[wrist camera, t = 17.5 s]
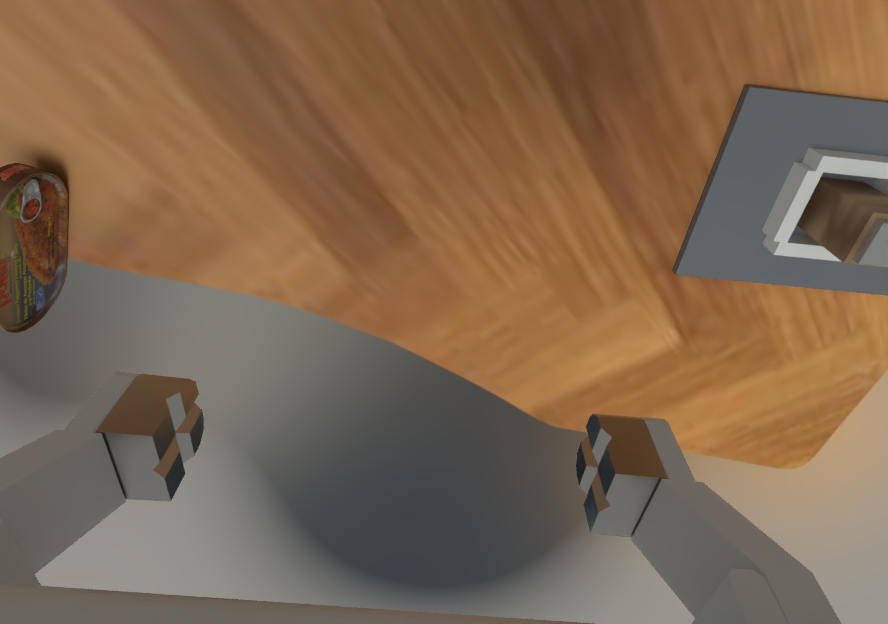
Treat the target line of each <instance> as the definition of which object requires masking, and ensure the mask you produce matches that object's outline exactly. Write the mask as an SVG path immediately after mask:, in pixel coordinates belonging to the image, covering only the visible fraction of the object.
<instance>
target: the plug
mask: <svg viewBox="0 0 888 624" xmlns="http://www.w3.org/2000/svg"><path fill="white" fill-rule="evenodd" d="M797 226H798V227H799V228H801V229H802V230H803V231H804V232H806V233H807V234H808V235H809V236H811V237H812V238H813V239H814V240H815V241H817V242H818V243H819V244H820V245H822V246H823V247H824V248H825V249H827V250H828V251H829V252H830V253H832V254H833V255H834V256H835V257H837V258H838V259H839V260H840V261H842V262H843V263H849V264H858V265H867V266H877V267H886V268H888V195H886V194H884V193H882V192H881V191H879V190H877V189H875V188H874V187H872V186H870V185H868V184H866V183H865V182H862V181H854V180H845V179H836V178H827V177H821V178H820V180H819V182H818V183H817V185H816V187H815V189H814V191H813V193H812V195H811V197H810V199H809V201H808V203H807V205H806V207H805V209H804V211H803V213H802V215H801V217H800V219H799V221H798V223H797Z"/></svg>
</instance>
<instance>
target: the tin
mask: <svg viewBox="0 0 888 624" xmlns="http://www.w3.org/2000/svg"><path fill="white" fill-rule="evenodd" d="M67 243H68V192H67V189H66V186H65V184H64V183H63V181H62V180H61V179H60V178H59V177H58V176H56V175H54V174H52V173H48V172H44V171H41V170H39V169H36V168H34V167H31V166H28V165H25V164H20V163H14V164H9V165H6V166H3V167H0V328H1V329H3V330H4V331H6V332H9V333H19V332H22V331H25V330H27V329H29V328H31V327H32V326H33V325H35V324H36V323H37V322H38V321H40V320H41V319H42V318H43V317H44V315H45V314H46V313H47V312H48V311H49V309H50V308H51V307H52V305H53V304H54V302H55V301H56V299H57V297H58V295H59V294H60V292H61V290H62V287H63V284H64V281H65V277H66V272H67V248H68V246H67V245H68V244H67Z"/></svg>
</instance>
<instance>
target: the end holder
mask: <svg viewBox="0 0 888 624" xmlns="http://www.w3.org/2000/svg"><path fill="white" fill-rule="evenodd" d="M821 177H827V178H836V179H845V180H854V181H862V182H865V183H866V184H868V185H870V186H872V187H874V188H875V189H877V190H879V191H881V192H882V193H884V194H886V195H888V101H881V100H872V99H863V98H854V97H846V96H837V95H828V94H820V93H811V92H802V91H793V90H785V89H776V88H767V87H758V86H750V85H745V86H744V88H743V91H742V94H741V96H740V99H739V101H738V104H737V106H736V109H735V111H734V114H733V117H732V119H731V122H730V124H729V127H728V129H727V132H726V135H725V137H724V140H723V142H722V145H721V147H720V150H719V153H718V155H717V158H716V160H715V163H714V165H713V168H712V170H711V173H710V176H709V178H708V181H707V183H706V186H705V188H704V191H703V194H702V196H701V199H700V201H699V204H698V206H697V209H696V211H695V214H694V217H693V219H692V222H691V224H690V227H689V229H688V232H687V235H686V237H685V240H684V242H683V245H682V247H681V250H680V252H679V255H678V258H677V260H676V263H675V265H674V268H673V272H674V273H675V275H683V276H693V277H704V278H714V279H724V280H734V281H745V282H755V283H765V284H775V285H786V286H796V287H806V288H817V289H827V290H837V291H847V292H858V293H868V294H878V295H888V268H886V267H877V266H867V265H858V264H849V263H843V262H842V261H840V260H839V259H838V258H837V257H835V256H834V255H833V254H832V253H830V252H829V251H828V250H827V249H825V248H824V247H823V246H822V245H820V244H819V243H818V242H817V241H815V240H814V239H813V238H812V237H811V236H809V235H808V234H807V233H806V232H804V231H803V230H802V229H801V228H799V227H798V226H797V223H798V221H799V219H800V217H801V215H802V213H803V211H804V209H805V207H806V205H807V203H808V201H809V199H810V197H811V195H812V193H813V191H814V189H815V187H816V185H817V183H818V182H819V180H820V178H821Z"/></svg>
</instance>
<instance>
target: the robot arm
mask: <svg viewBox="0 0 888 624" xmlns="http://www.w3.org/2000/svg"><path fill="white" fill-rule="evenodd" d="M198 394H199V393H198V389H197V385H196V382H195V381H193V380H191V379H184V378H175V377H165V376H156V375H147V374H133V373H125V372H115V373H113V374H111V375H109V376H108V377H107V379H106V380H105V381H104V382H103V383H102V385H101V386H100V387H99V388H98V389H97V391H96V392H95V393H94V394H93V396H92V397H91V398H90V399H89V401H88V402H87V403H86V404H85V405H84V407H83V408H82V409H81V410H80V412H79V413H78V414H77V415H76V416H75V418H74V419H73V420H72V421H71V422H70V424H69V425H68V426H67V427H66V429H65V430H55V431H53V432H51V433H49V434H47V435H45V436H43V437H41V438H39V439H37V440H35V441H33V442H31V443H29V444H27V445H25V446H23V447H22V448H19V449H17V450H15V451H14V452H12V453H10V454H8V455H6V456H4V457H2V458H0V624H593V623H578V622H562V621H548V620H547V621H546V620H533V619H518V618H503V617H488V616H474V615H459V614H444V613H429V612H413V611H400V610H384V609H370V608H356V607H354V608H353V607H341V606H327V605H311V604H297V603H283V602H267V601H254V600H239V599H224V598H210V597H195V596H181V595H166V594H165V595H164V594H151V593H137V592H121V591H107V590H93V589H78V588H63V587H49V586H41V585H40V583H39V581H38V580H37V578H36V576H35V573H37V572H38V571H39V570H40V569H42V568H43V567H44V566H45V565H47V564H48V563H49V562H50V561H52V560H53V559H54V558H55V557H57V556H58V555H59V554H60V553H62V552H63V551H64V550H65V549H67V548H68V547H69V546H70V545H72V544H73V543H74V542H76V541H77V540H78V539H79V538H81V537H82V536H83V535H84V534H86V533H87V532H88V531H89V530H91V529H92V528H93V527H94V526H96V525H97V524H98V523H100V522H101V521H102V520H103V519H105V518H106V517H107V516H108V515H110V514H111V513H112V512H113V511H115V510H116V509H117V508H118V507H119V506H121V505H122V504H123V503H125V502H126V500H125V499H134V500H155V501H171V500H172V498H173V496H174V494H175V492H176V490H177V488H178V487H179V485H180V483H181V481H182V479H183V477H184V475H185V470H184V466H183V463H184V462H185V461H187V460H188V459H190V458H191V457H193V456H195V453H196V451H197V449H198V447H199V445H200V442H201V438H202V434H203V430H204V418H203V413H202V410H201V409H200V408H199V407H198V406H197V405H196V404H195V403H194V402H195V400H196V398H197V396H198ZM586 430H587V433H588V437H587V438H585V439H584V440H582V441H581V442H580V445H579V448H578V452H577V460H576V473H577V479H578V484H579V487H580V488H581V489H582V490H583V491H584V492H585V493H586V494H587V497H586V499H585V502H584V504H583V505H584V509H585V513H586V517H587V522H588V526H589V530H590V533H593V534H603V535H613V536H622V537H632V539H631V540H632V541H633V542H634V544H635V545H636V546H637V547H638V549H639V550H640V551H641V552H642V553H643V555H644V556H645V557H646V558H647V560H648V561H649V562H650V563H651V564H652V566H653V567H654V568H655V569H656V571H657V572H658V573H659V574H660V576H661V577H662V578H663V579H664V580H665V582H666V583H667V584H668V585H669V587H670V588H671V589H672V590H673V592H674V593H675V594H676V595H677V596H678V598H679V599H680V600H681V601H682V603H683V604H684V605H685V606H686V607H687V609H688V610H689V611H690V612H691V614H692V615H693V616H694V617H695V620H694V622H693V623H692V624H841V622H840V620H839V618H838V617H837V616H836V613H835V612H834V610H833V608H832V606H831V605H830V603H829V601H828V599H827V598H826V596H825V594H824V592H823V591H822V589H821V587H820V585H819V584H818V582H817V581H816V579H815V577H814V575H813V573H812V572H810V571H809V570H808V569H807V568H806V567H804V566H803V565H802V564H801V563H800V562H799V561H797V560H796V559H795V558H794V557H792V556H791V555H790V554H788V552H786V551H785V550H784V549H783V548H782V547H780V546H779V545H778V544H777V543H775V542H774V541H773V540H772V539H771V538H769V537H768V536H767V535H766V534H765V533H763V532H762V531H761V530H760V529H759V528H757V527H756V526H755V525H754V524H752V523H751V522H750V521H749V520H748V519H746V518H745V517H744V516H743V515H741V514H740V513H739V512H738V511H737V510H736V509H734V508H733V507H732V506H731V505H730V504H728V503H727V502H726V501H725V500H723V499H722V498H721V497H720V496H719V495H718V494H716V493H715V492H714V491H712V490H711V489H710V488H709V487H708V486H707V485H705V484H704V483H703V482H696V481H695V479H694V477H693V475H692V473H691V471H690V468H689V466H688V464H687V462H686V460H685V458H684V456H683V454H682V451H681V449H680V447H679V445H678V443H677V441H676V438H675V436H674V434H673V432H672V430H671V428H670V426H669V424H668V422H667V421H666V420H665V419H658V418H644V417H640V418H638V417H629V416H616V415H603V414H592V415H591V416H590V418H589V420H588V422H587V425H586Z"/></svg>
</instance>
